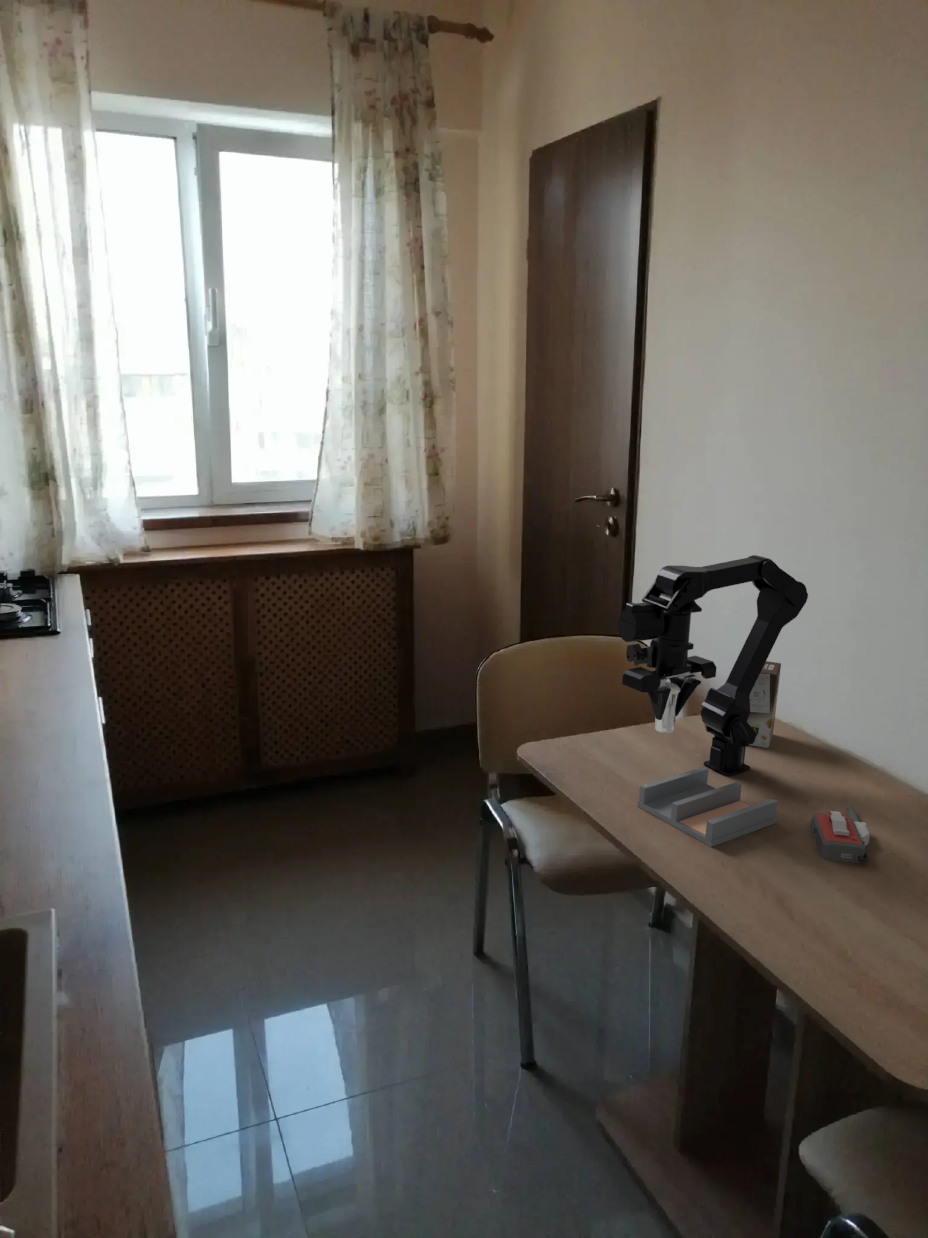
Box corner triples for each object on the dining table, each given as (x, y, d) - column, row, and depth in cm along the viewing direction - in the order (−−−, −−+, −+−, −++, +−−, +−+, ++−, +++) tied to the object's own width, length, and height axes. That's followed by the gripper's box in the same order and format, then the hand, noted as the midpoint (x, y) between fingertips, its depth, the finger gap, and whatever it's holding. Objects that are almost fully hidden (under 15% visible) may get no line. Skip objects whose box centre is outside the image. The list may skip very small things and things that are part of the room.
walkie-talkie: (880, 871, 143) (854, 814, 162) (884, 845, 142) (857, 791, 161) (821, 864, 145) (802, 808, 164) (824, 839, 144) (805, 785, 163)
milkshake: (681, 735, 169) (686, 684, 166) (651, 732, 170) (655, 681, 167) (680, 727, 173) (685, 676, 171) (651, 724, 174) (656, 674, 172)
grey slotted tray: (700, 786, 171) (702, 766, 170) (776, 823, 158) (778, 801, 156) (637, 806, 163) (639, 785, 162) (711, 847, 149) (713, 824, 148)
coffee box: (769, 749, 189) (777, 674, 185) (737, 744, 192) (744, 670, 188) (773, 734, 198) (781, 662, 193) (742, 729, 200) (750, 658, 196)
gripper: (677, 620, 178) (671, 696, 182) (604, 632, 168) (599, 713, 172) (721, 633, 169) (714, 713, 173) (647, 647, 159) (641, 732, 163)
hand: (666, 717), depth 171 cm, fingers closed on milkshake, 4 cm apart
